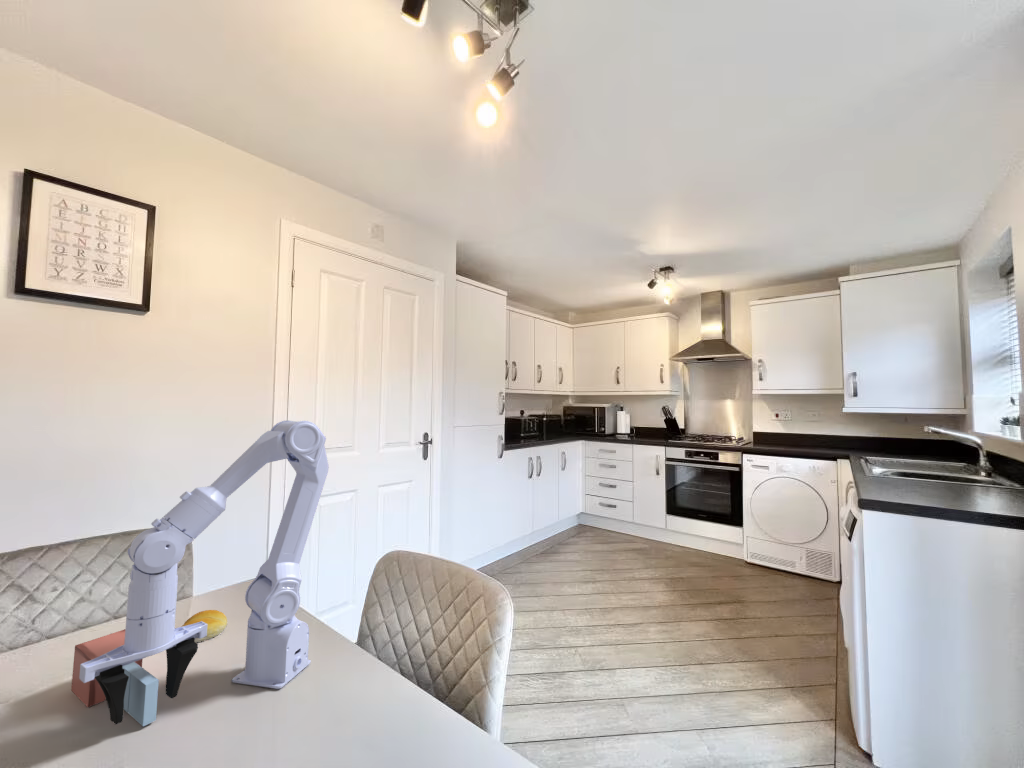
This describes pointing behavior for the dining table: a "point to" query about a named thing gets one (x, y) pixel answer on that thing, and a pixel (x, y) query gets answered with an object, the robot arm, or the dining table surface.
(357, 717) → the dining table surface
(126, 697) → the blue-grey rectangular box
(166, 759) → the dining table surface
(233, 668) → the dining table surface
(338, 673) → the dining table surface
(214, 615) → the bread roll
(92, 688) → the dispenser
